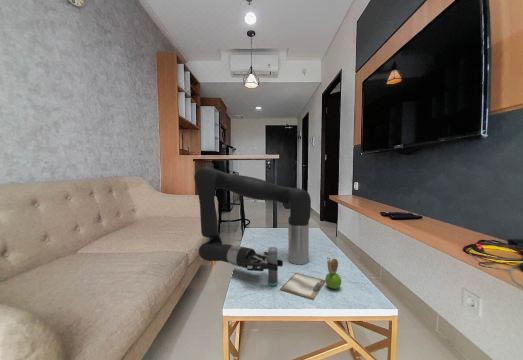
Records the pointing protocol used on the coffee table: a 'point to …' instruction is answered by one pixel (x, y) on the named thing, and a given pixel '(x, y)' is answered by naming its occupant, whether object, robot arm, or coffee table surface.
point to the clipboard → (303, 286)
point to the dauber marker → (273, 259)
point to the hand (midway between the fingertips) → (279, 265)
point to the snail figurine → (333, 274)
